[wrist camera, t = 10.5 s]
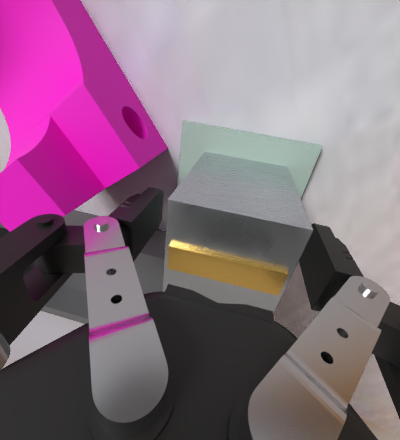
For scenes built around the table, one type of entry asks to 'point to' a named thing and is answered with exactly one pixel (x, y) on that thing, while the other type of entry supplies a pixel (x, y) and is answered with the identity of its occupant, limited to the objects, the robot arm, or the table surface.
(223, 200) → the block
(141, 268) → the case
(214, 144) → the mat
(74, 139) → the toy block
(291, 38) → the table surface
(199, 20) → the table surface
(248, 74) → the table surface
